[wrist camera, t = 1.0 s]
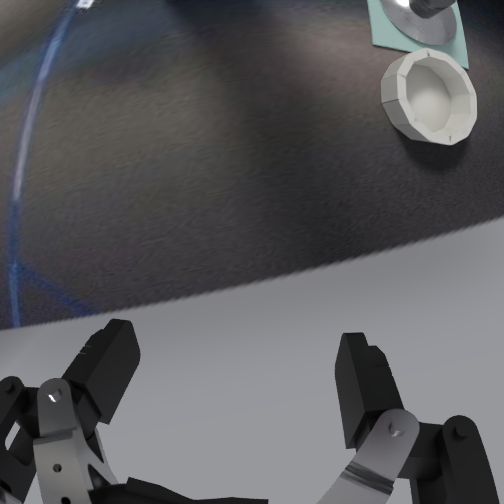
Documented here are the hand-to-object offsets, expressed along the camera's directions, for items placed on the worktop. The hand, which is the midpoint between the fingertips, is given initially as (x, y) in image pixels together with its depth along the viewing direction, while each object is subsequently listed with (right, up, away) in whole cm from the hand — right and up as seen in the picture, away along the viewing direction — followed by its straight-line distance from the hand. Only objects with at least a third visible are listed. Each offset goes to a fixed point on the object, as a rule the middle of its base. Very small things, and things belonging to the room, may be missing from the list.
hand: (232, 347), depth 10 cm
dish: (+21, +22, +16) cm, 34 cm away
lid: (+21, +33, +11) cm, 41 cm away
